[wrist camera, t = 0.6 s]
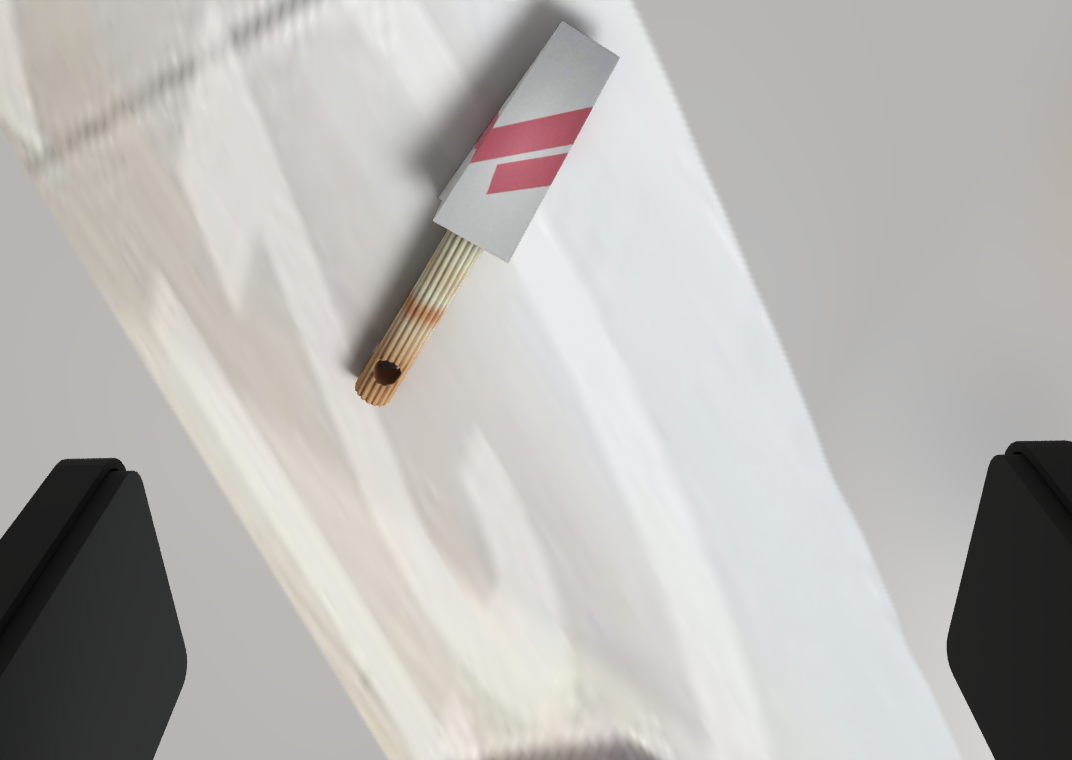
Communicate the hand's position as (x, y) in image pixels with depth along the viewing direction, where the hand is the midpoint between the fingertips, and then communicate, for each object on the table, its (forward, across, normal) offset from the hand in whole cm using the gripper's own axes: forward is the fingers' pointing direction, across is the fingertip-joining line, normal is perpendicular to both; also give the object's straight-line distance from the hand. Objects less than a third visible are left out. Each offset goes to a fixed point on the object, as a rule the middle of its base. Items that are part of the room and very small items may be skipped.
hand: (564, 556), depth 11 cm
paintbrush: (+35, +3, +9) cm, 36 cm away
